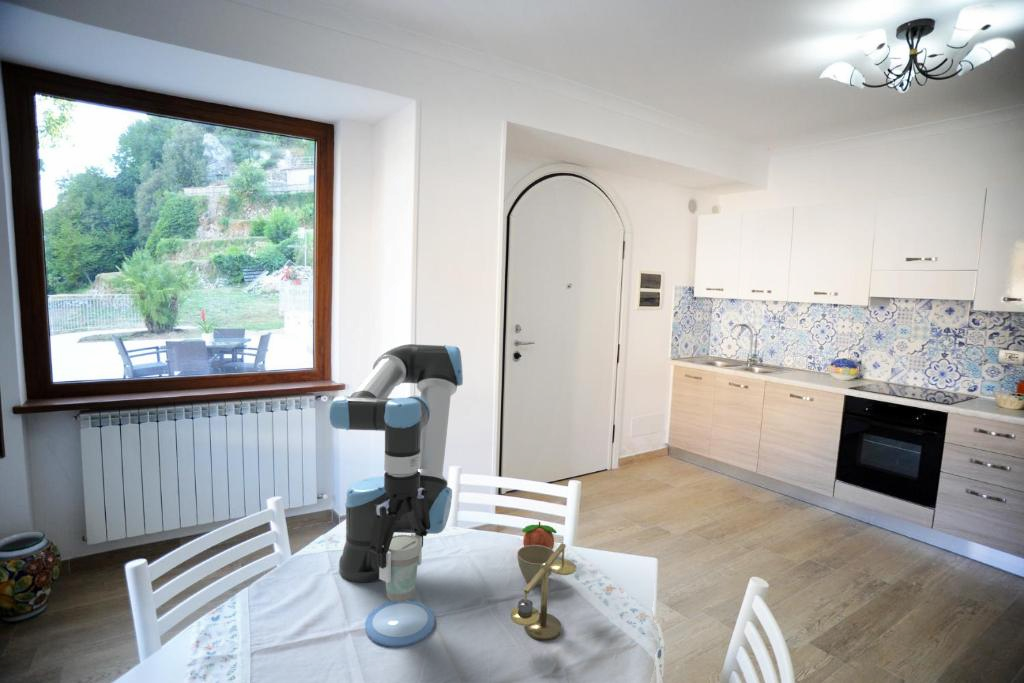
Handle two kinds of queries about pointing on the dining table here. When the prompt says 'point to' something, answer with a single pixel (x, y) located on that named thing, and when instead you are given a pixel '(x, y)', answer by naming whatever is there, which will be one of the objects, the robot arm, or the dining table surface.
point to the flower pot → (533, 560)
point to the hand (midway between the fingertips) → (400, 571)
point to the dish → (399, 623)
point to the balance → (542, 600)
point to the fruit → (539, 535)
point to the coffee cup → (403, 567)
